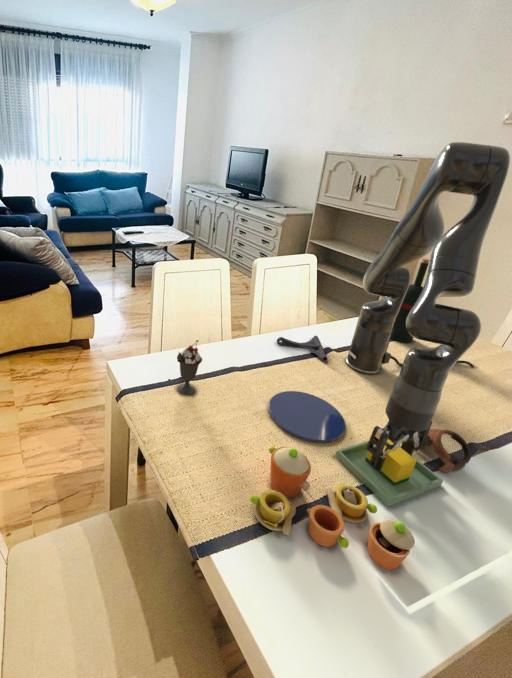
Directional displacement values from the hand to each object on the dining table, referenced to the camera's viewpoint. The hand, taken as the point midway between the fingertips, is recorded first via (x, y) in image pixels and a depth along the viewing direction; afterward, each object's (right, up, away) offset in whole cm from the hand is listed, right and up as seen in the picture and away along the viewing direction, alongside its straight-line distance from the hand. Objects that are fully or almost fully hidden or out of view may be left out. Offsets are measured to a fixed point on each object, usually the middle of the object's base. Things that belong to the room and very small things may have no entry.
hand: (389, 462), depth 81 cm
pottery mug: (+13, -1, +6) cm, 14 cm away
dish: (0, -2, +1) cm, 3 cm away
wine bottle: (+39, +19, +60) cm, 74 cm away
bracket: (0, +17, +49) cm, 52 cm away
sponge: (0, -2, +1) cm, 2 cm away
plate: (-12, +4, +16) cm, 20 cm away
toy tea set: (-18, -6, -10) cm, 21 cm away
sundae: (-41, +9, +24) cm, 48 cm away
